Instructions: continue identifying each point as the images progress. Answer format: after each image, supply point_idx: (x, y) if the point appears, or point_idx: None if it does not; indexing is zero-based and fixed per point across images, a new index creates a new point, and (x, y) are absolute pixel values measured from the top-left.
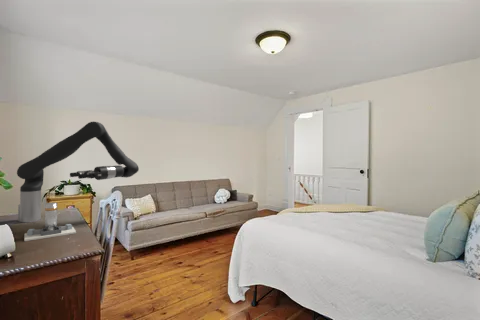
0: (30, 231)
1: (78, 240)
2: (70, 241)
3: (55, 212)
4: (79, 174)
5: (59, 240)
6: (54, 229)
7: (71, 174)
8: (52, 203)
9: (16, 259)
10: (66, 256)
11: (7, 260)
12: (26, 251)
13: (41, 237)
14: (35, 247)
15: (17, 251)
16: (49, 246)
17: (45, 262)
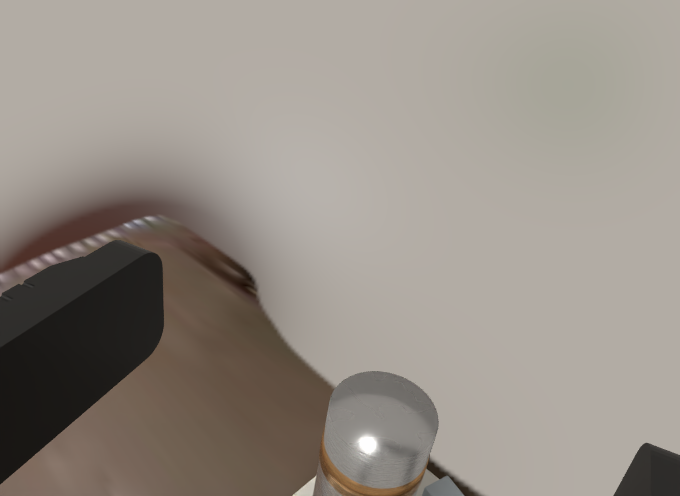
0: (432, 486)
1: (30, 479)
2: (81, 458)
3: (318, 468)
4: (124, 244)
5: (171, 471)
6: None
7: (627, 493)
8: (368, 409)
9: (204, 270)
10: (4, 288)
11: (230, 265)
12: (233, 329)
13: (315, 477)
14: (232, 368)
15: (275, 328)
16: (165, 381)
17: (67, 250)
